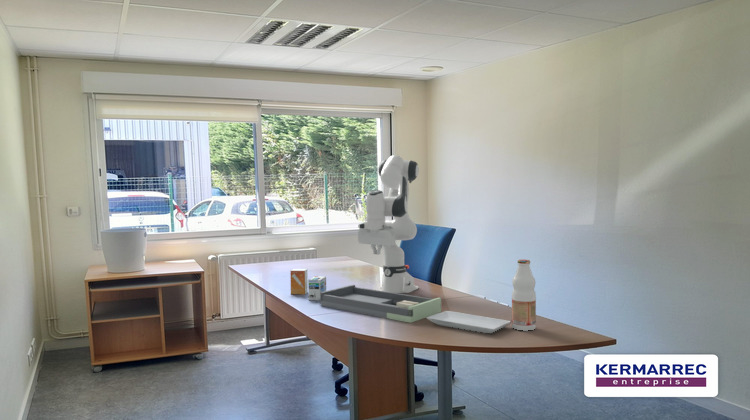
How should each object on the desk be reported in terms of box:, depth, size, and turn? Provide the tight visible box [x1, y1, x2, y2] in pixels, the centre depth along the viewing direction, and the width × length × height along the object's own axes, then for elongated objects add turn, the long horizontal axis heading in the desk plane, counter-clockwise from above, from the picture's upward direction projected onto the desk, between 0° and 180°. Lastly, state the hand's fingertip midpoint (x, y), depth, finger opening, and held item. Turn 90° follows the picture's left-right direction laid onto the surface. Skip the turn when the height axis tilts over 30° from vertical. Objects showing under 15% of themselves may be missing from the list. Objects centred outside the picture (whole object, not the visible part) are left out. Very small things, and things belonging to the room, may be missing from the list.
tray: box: [426, 310, 512, 334], centre depth 232 cm, size 17×31×4 cm, turn 52°
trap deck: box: [320, 284, 442, 323], centre depth 265 cm, size 24×54×6 cm, turn 51°
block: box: [396, 300, 419, 308], centre depth 248 cm, size 6×8×4 cm
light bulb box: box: [308, 275, 327, 302], centre depth 289 cm, size 11×7×11 cm, turn 169°
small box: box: [290, 268, 309, 296], centre depth 302 cm, size 8×6×13 cm
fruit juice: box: [511, 259, 537, 332], centre depth 227 cm, size 9×9×28 cm
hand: (376, 254), depth 265 cm, fingers closed
